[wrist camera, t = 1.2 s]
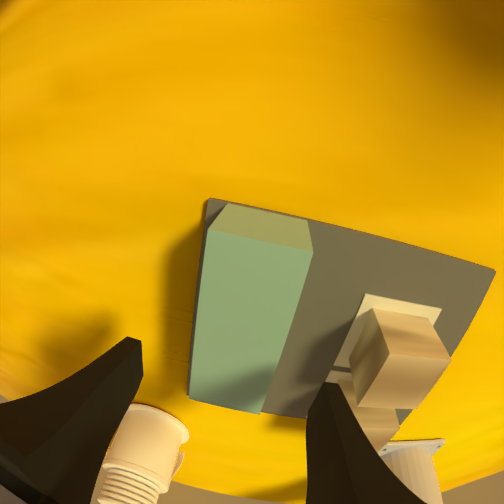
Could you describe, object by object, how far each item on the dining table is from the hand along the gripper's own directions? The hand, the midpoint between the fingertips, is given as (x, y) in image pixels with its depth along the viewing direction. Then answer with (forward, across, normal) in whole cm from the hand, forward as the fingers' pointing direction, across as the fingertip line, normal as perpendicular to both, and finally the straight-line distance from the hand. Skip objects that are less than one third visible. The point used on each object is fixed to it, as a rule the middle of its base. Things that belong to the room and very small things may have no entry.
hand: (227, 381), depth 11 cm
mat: (+7, -6, +3) cm, 10 cm away
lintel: (+6, 0, 0) cm, 7 cm away
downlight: (+7, +6, +17) cm, 19 cm away
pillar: (+6, -9, +1) cm, 11 cm away
